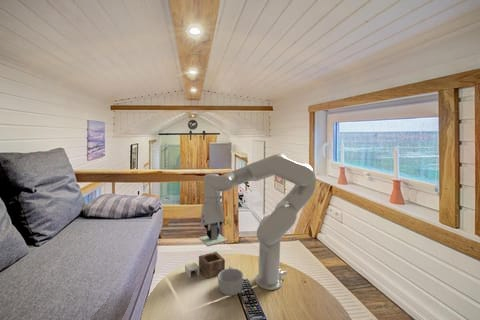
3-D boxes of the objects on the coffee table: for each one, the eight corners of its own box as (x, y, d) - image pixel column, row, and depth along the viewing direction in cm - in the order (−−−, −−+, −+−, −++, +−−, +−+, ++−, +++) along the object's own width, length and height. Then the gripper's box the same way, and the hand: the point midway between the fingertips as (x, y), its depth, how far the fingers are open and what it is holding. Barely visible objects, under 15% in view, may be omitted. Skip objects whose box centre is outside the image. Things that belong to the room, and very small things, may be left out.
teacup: (240, 301, 102) (240, 282, 101) (214, 298, 104) (215, 280, 103) (245, 281, 116) (245, 265, 115) (222, 279, 117) (222, 263, 117)
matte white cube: (194, 271, 124) (194, 261, 124) (199, 277, 119) (199, 267, 118) (185, 274, 121) (185, 264, 121) (189, 280, 116) (189, 270, 116)
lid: (218, 234, 128) (217, 219, 127) (227, 241, 119) (227, 225, 118) (199, 238, 122) (198, 223, 122) (207, 246, 113) (207, 230, 113)
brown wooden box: (216, 266, 129) (216, 251, 128) (224, 275, 121) (224, 259, 120) (198, 271, 124) (198, 256, 123) (206, 280, 116) (206, 264, 115)
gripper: (223, 195, 126) (224, 230, 128) (193, 200, 118) (194, 237, 119) (231, 198, 120) (231, 235, 121) (199, 203, 111) (200, 243, 113)
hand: (213, 236), depth 120 cm, fingers closed on lid, 3 cm apart
